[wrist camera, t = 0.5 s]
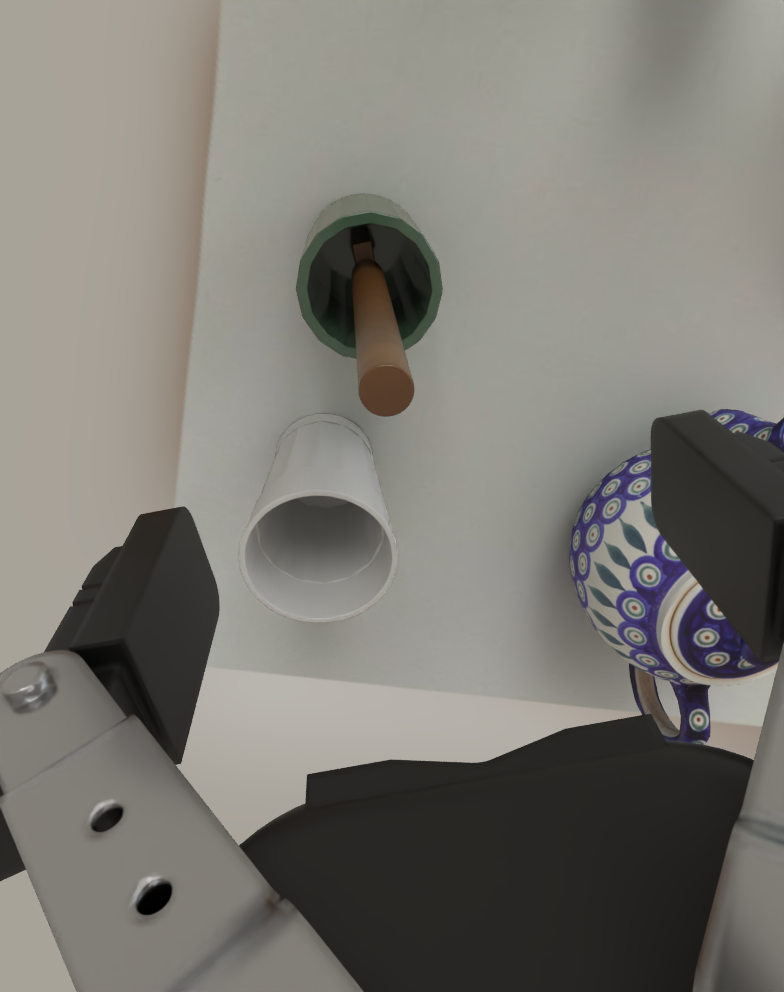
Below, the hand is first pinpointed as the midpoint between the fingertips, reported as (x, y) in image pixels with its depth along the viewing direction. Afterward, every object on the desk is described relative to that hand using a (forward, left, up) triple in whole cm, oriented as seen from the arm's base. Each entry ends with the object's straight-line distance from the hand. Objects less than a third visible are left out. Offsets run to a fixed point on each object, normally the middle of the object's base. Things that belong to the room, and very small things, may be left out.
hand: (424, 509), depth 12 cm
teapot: (+22, +17, -31) cm, 42 cm away
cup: (+13, -5, -31) cm, 34 cm away
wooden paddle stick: (+1, 0, -31) cm, 31 cm away
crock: (+1, 0, -31) cm, 31 cm away
